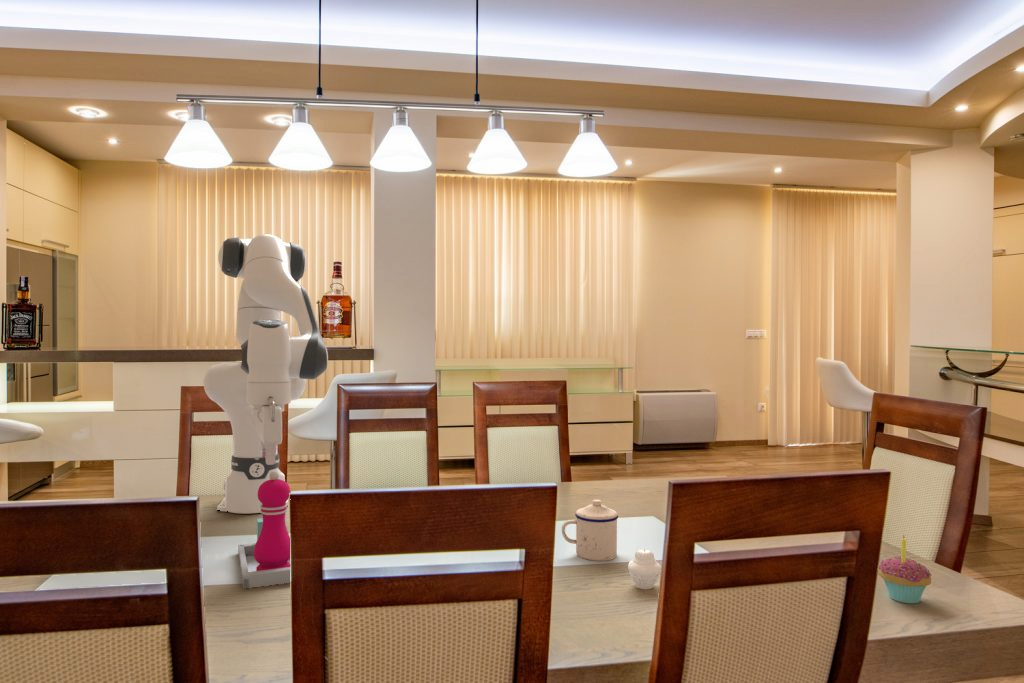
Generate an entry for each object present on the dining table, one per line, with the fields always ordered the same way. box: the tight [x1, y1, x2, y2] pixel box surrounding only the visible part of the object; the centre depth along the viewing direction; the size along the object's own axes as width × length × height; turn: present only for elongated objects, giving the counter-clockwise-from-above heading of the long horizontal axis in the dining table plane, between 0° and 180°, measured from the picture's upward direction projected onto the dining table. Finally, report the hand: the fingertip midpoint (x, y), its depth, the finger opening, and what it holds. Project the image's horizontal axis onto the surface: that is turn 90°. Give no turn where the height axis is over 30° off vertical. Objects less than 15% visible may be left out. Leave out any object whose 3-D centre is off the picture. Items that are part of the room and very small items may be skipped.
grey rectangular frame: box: [237, 517, 291, 590], centre depth 136 cm, size 22×11×7 cm, turn 24°
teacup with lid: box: [561, 499, 619, 562], centre depth 146 cm, size 12×9×12 cm
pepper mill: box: [253, 471, 291, 571], centre depth 132 cm, size 7×7×20 cm
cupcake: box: [877, 534, 932, 604], centre depth 123 cm, size 9×8×12 cm
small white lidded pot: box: [627, 549, 662, 590], centre depth 127 cm, size 6×6×7 cm
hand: (268, 460), depth 145 cm, fingers open, 8 cm apart
